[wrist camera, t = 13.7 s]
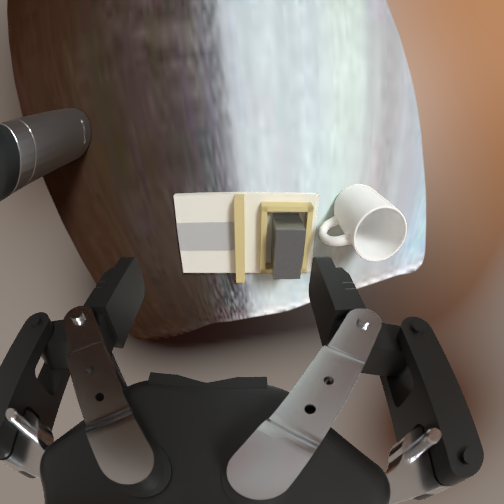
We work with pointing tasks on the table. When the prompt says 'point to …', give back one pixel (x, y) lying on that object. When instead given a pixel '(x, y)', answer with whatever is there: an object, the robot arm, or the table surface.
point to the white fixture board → (238, 229)
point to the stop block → (287, 245)
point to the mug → (366, 223)
